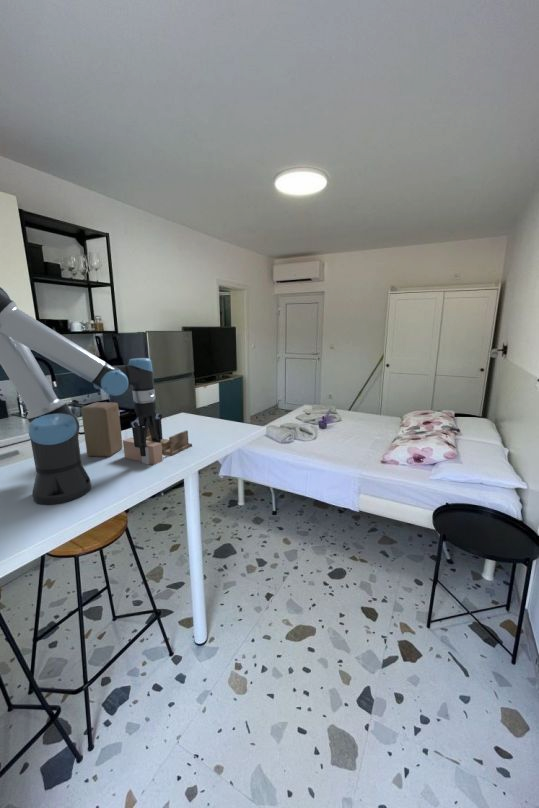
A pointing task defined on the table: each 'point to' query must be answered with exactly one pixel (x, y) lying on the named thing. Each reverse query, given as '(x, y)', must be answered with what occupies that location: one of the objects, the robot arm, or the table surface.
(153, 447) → the pinkish tan block
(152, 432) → the robot arm
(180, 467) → the table surface
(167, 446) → the rack
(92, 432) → the wooden block
